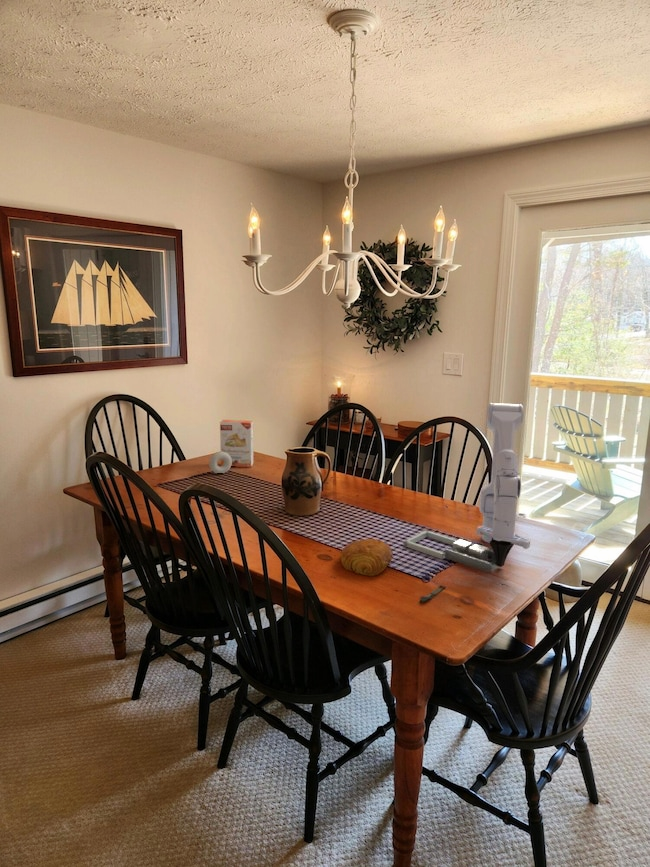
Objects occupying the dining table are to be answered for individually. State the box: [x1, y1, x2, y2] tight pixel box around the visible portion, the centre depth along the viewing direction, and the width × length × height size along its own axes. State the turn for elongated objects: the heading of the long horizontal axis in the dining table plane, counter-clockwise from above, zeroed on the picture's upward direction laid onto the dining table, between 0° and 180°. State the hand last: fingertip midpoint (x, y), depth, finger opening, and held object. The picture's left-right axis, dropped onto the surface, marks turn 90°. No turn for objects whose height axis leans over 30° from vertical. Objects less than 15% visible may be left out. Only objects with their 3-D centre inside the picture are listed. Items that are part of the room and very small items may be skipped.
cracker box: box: [219, 419, 254, 468], centre depth 254 cm, size 14×6×21 cm, turn 86°
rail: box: [444, 543, 499, 574], centre depth 160 cm, size 9×14×4 cm, turn 47°
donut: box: [208, 450, 232, 474], centre depth 242 cm, size 10×4×10 cm, turn 118°
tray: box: [403, 530, 458, 560], centre depth 169 cm, size 12×13×2 cm
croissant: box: [340, 538, 394, 577], centre depth 159 cm, size 14×16×8 cm
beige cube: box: [451, 538, 473, 555], centre depth 163 cm, size 4×4×4 cm
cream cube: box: [468, 543, 489, 561], centre depth 159 cm, size 4×4×4 cm
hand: (500, 565), depth 155 cm, fingers closed
